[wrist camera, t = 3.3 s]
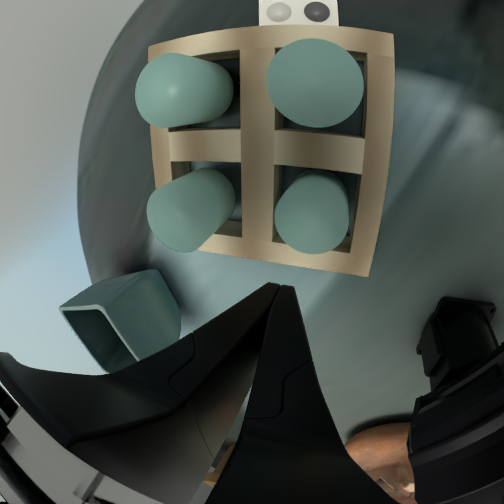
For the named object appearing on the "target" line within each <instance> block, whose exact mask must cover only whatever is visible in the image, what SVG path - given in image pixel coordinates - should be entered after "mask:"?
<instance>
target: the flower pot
mask: <svg viewBox="0 0 504 504" xmlns="http://www.w3.org/2000/svg"><path fill="white" fill-rule="evenodd" d="M59 311H60V312H61V314H62V315H63V317H64V319H65V320H66V322H67V323H68V324H69V326H70V327H71V329H72V330H73V332H74V333H75V335H76V336H77V337H78V339H79V340H80V341H81V343H82V344H83V345H84V347H85V348H86V350H87V351H88V352H89V354H90V355H91V356H92V357H93V359H94V360H95V361H96V363H97V364H98V365H99V366H100V368H101V369H102V370H103V371H104V372H105V373H106V374H109V373H112V372H115V371H117V370H120V369H122V368H124V367H126V366H129V365H131V364H133V363H135V362H137V361H140V360H142V359H144V358H146V357H148V356H150V355H152V354H154V353H156V352H158V351H160V350H162V349H164V348H166V347H168V346H170V345H171V344H173V343H175V342H177V341H178V340H179V337H180V331H181V315H180V308H179V306H178V304H177V302H176V301H175V299H174V297H173V295H172V294H171V292H170V290H169V288H168V286H167V284H166V283H165V281H164V279H163V277H162V275H161V273H160V272H159V271H158V270H157V269H150V270H145V271H140V272H135V273H131V274H126V275H122V276H117V277H112V278H109V279H105V280H102V281H100V282H98V283H95V284H93V285H92V286H90V287H88V288H87V289H85V290H84V291H82V292H81V293H79V294H78V295H76V296H74V297H73V298H71V299H70V300H69V301H67V302H66V303H64V304H63V305H61V306H60V307H59Z"/></svg>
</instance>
